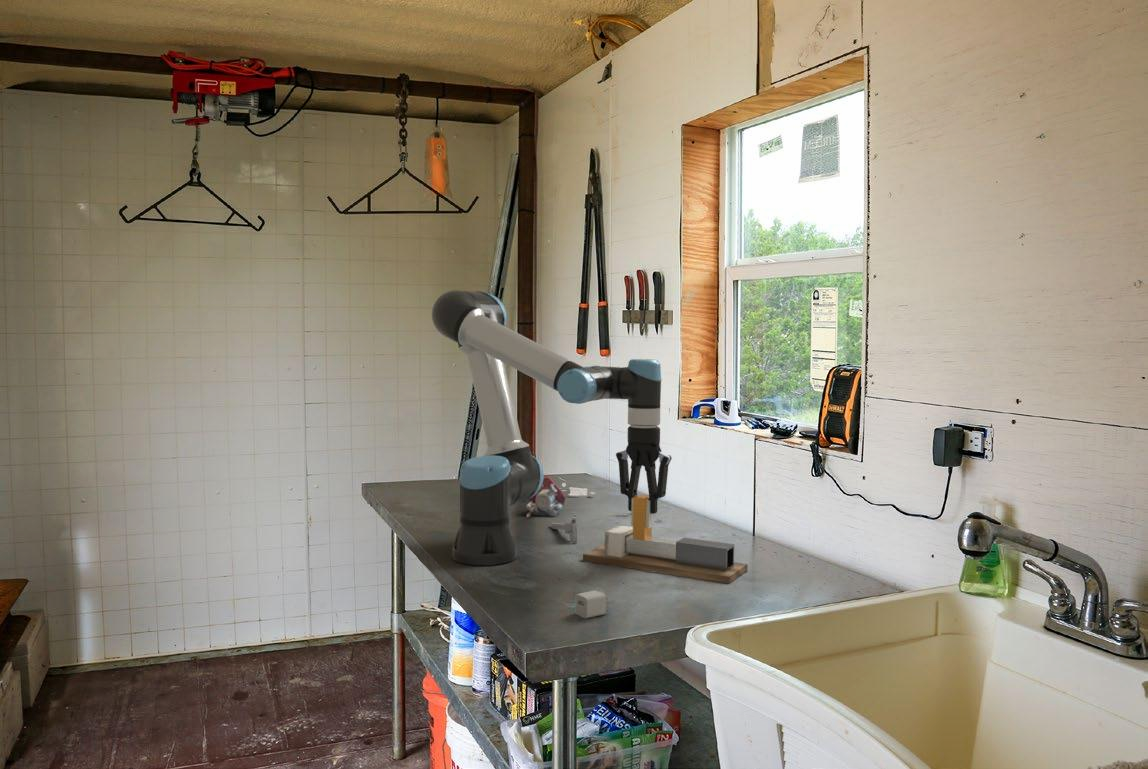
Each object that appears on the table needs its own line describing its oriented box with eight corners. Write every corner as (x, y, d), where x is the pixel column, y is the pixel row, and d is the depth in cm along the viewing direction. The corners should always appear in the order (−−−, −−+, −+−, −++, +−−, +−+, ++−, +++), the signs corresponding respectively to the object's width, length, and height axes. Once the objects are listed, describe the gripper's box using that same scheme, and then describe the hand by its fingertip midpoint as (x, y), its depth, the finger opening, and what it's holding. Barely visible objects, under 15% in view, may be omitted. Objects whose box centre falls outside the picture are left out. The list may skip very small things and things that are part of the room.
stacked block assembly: (707, 564, 199) (708, 505, 198) (619, 551, 210) (619, 495, 209) (714, 560, 202) (715, 502, 201) (626, 547, 213) (627, 492, 212)
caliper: (577, 544, 226) (577, 520, 226) (573, 544, 226) (573, 520, 226) (553, 527, 246) (553, 504, 245) (549, 527, 245) (549, 504, 245)
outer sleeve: (726, 571, 196) (726, 549, 196) (675, 563, 202) (675, 542, 202) (733, 566, 201) (734, 544, 200) (684, 558, 206) (684, 537, 206)
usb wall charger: (575, 613, 171) (575, 593, 171) (604, 607, 175) (604, 587, 175) (587, 619, 168) (587, 598, 168) (616, 613, 172) (616, 592, 172)
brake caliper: (570, 502, 267) (565, 474, 259) (563, 530, 259) (558, 503, 251) (533, 500, 269) (527, 472, 262) (525, 528, 261) (519, 501, 254)
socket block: (621, 557, 207) (621, 533, 207) (604, 554, 210) (604, 531, 209) (635, 550, 214) (636, 527, 214) (619, 547, 216) (619, 525, 216)
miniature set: (485, 494, 287) (490, 493, 299) (594, 503, 286) (594, 501, 298) (487, 474, 287) (491, 474, 300) (595, 483, 286) (596, 482, 298)
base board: (729, 583, 192) (729, 576, 192) (582, 560, 210) (582, 554, 210) (747, 570, 203) (747, 564, 203) (606, 549, 220) (606, 543, 220)
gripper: (682, 426, 206) (680, 527, 208) (620, 422, 214) (618, 519, 216) (669, 429, 200) (667, 533, 201) (605, 425, 208) (604, 525, 209)
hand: (642, 525), depth 209 cm, fingers closed on stacked block assembly, 3 cm apart
